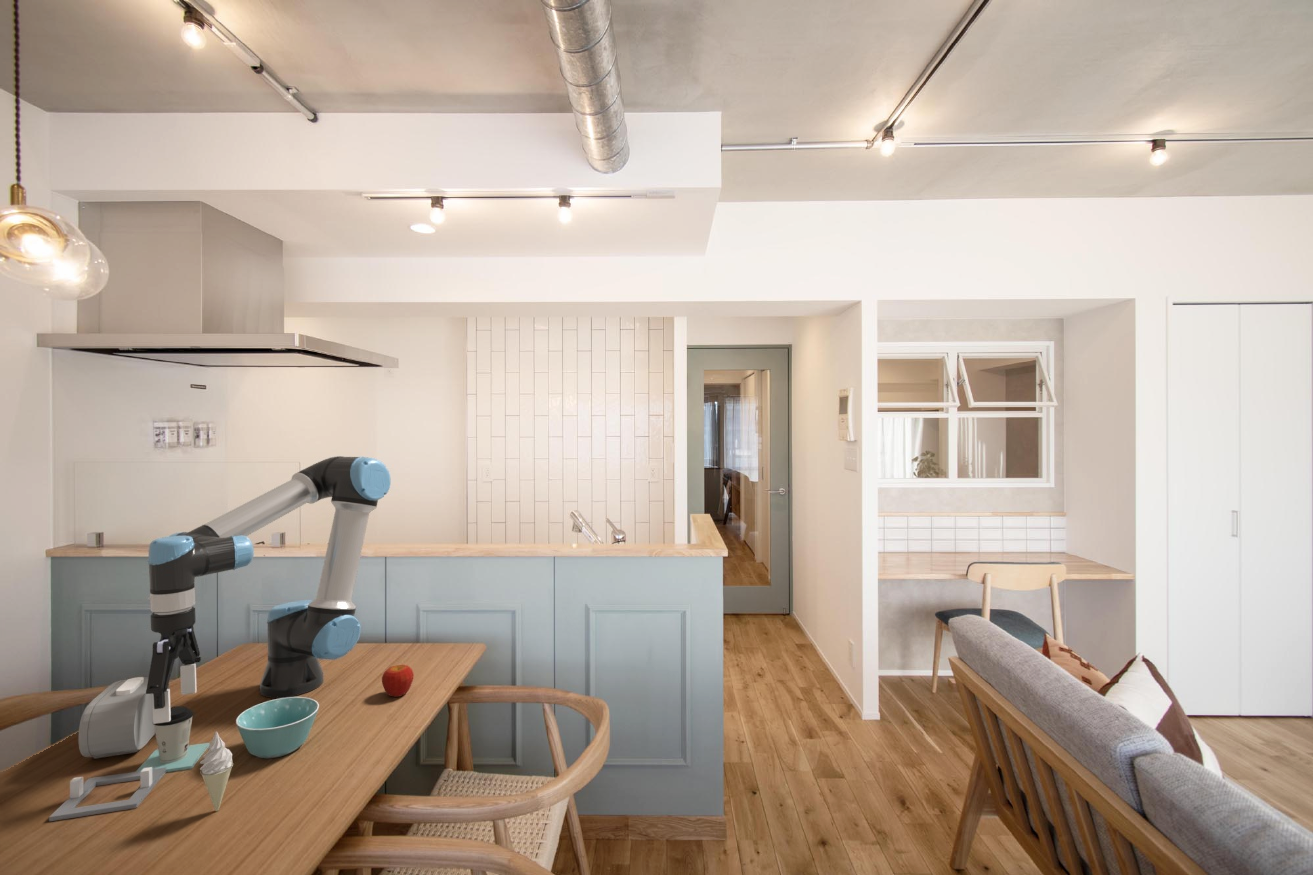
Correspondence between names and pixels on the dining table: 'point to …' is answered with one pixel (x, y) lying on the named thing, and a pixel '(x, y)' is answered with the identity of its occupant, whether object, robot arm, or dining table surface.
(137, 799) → the collar
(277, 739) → the bowl
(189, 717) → the coffee cup
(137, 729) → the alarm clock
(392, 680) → the apple
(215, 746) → the ice cream cone
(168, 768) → the coaster
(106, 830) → the dining table surface
